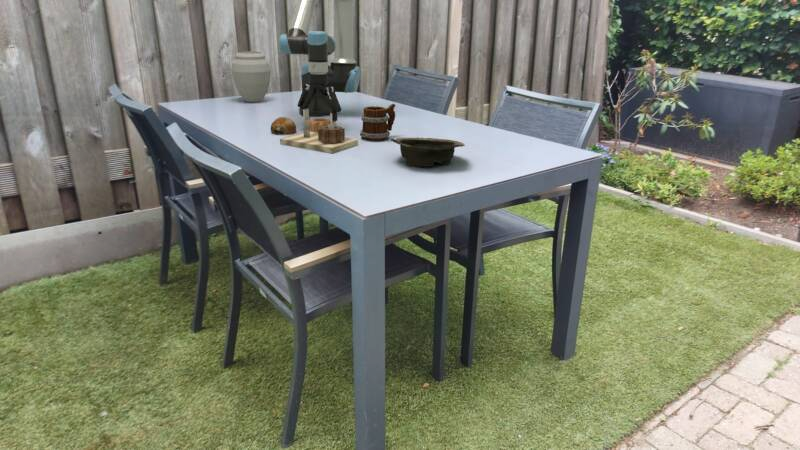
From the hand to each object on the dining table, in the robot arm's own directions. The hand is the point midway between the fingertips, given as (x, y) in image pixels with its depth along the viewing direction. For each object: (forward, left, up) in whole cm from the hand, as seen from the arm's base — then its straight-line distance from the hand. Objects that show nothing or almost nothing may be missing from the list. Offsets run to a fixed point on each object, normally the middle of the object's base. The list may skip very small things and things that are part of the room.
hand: (319, 127), depth 228 cm
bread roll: (-12, -8, -3) cm, 15 cm away
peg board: (+12, -16, -2) cm, 20 cm away
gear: (0, 0, -2) cm, 2 cm away
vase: (-72, +37, -2) cm, 81 cm away
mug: (+24, +6, -2) cm, 25 cm away
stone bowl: (+56, -13, -3) cm, 57 cm away
